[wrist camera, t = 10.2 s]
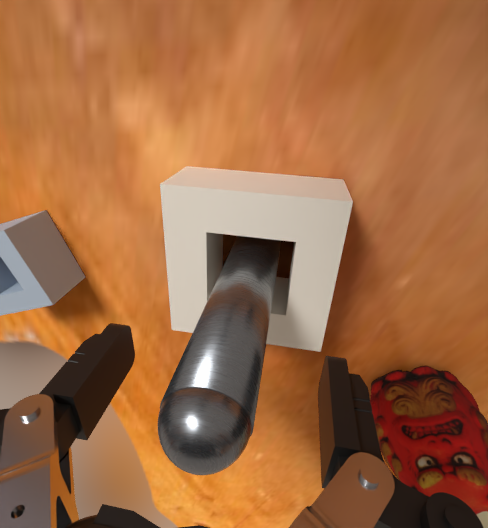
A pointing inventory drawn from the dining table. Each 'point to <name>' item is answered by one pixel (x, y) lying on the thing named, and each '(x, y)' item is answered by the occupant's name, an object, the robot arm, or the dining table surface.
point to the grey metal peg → (222, 364)
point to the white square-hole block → (258, 226)
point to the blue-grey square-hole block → (34, 264)
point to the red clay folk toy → (432, 434)
